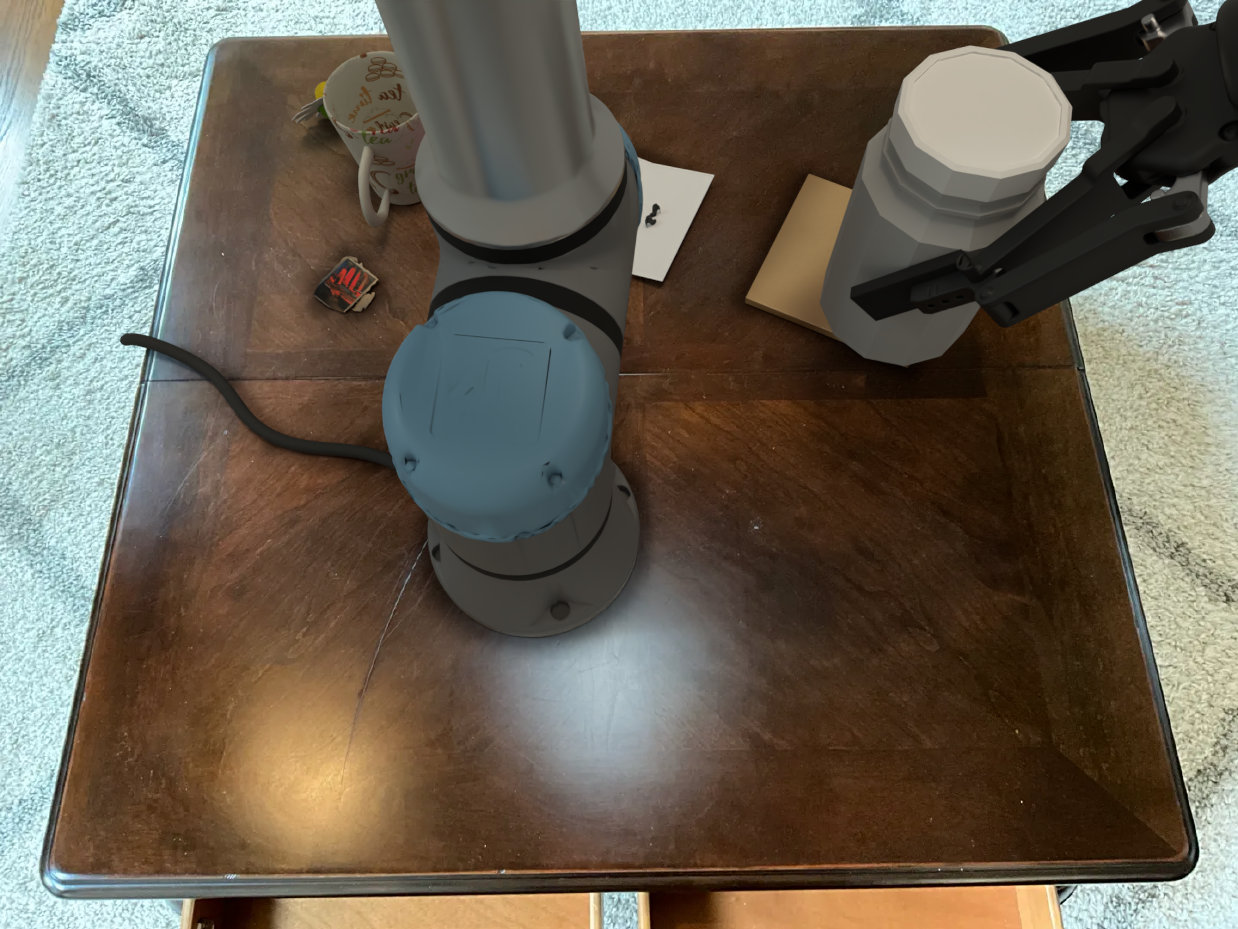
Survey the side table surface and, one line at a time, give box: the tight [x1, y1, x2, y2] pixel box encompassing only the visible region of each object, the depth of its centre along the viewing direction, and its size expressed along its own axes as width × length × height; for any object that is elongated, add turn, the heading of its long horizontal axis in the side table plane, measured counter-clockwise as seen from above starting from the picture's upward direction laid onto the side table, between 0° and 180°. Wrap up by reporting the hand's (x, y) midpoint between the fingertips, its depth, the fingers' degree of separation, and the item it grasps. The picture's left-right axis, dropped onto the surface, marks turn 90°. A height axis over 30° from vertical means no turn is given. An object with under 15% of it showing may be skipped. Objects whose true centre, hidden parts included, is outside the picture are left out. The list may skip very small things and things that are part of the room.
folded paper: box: [632, 157, 715, 282], centre depth 75 cm, size 12×12×2 cm
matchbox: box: [312, 254, 379, 313], centre depth 73 cm, size 5×5×1 cm
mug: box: [323, 50, 425, 229], centre depth 72 cm, size 8×13×10 cm, turn 175°
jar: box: [820, 45, 1072, 367], centre depth 51 cm, size 10×10×18 cm
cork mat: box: [744, 173, 910, 369], centre depth 73 cm, size 14×14×1 cm
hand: (870, 231), depth 52 cm, fingers closed on jar, 10 cm apart
